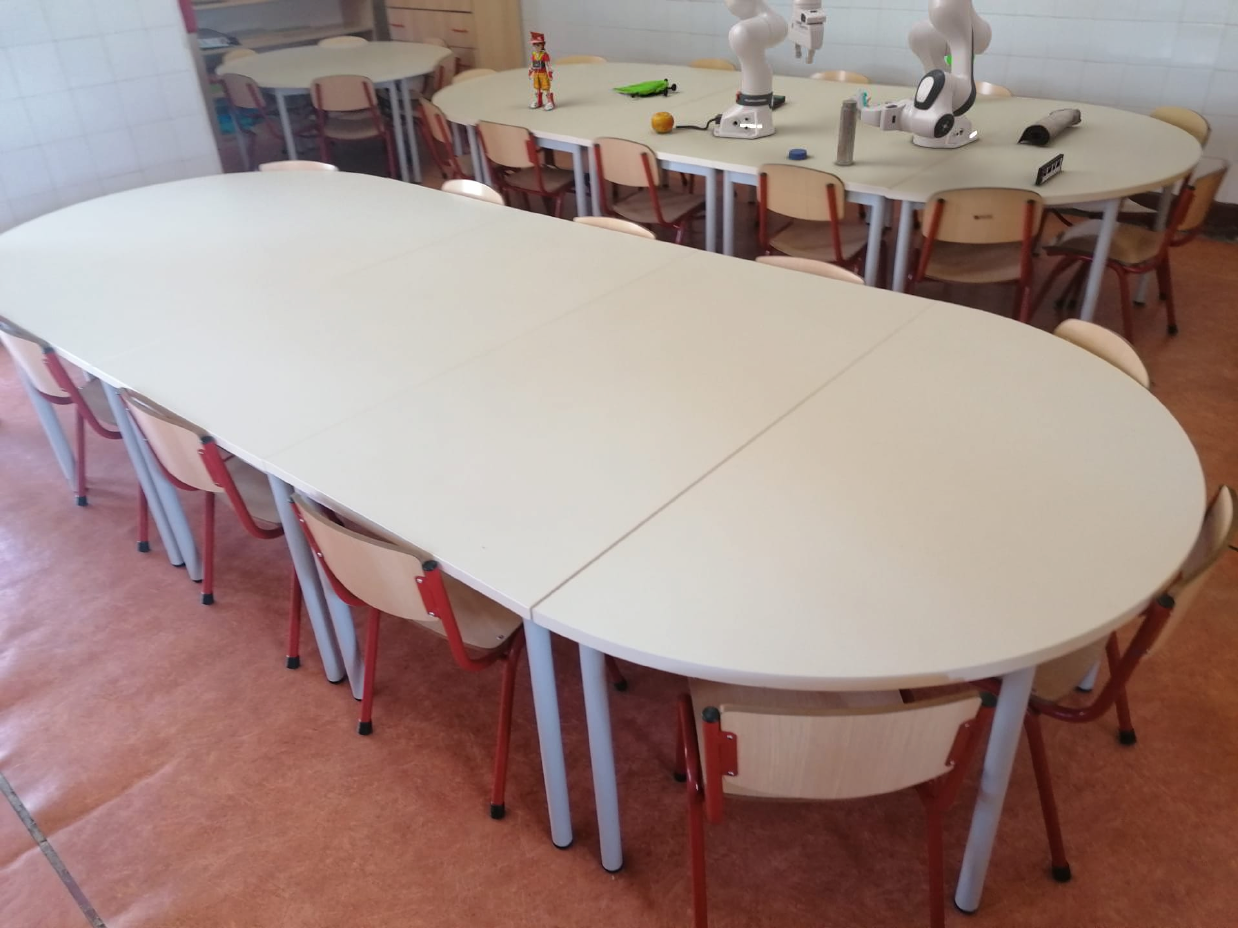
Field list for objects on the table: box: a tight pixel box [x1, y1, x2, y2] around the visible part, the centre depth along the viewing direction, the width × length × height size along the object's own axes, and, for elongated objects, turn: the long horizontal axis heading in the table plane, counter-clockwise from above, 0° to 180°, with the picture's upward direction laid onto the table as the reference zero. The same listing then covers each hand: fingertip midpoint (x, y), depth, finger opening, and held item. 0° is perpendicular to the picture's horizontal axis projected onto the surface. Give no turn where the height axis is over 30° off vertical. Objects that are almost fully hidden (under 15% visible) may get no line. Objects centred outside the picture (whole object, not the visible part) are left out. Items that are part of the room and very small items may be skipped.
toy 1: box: [527, 31, 556, 111], centre depth 374 cm, size 12×9×30 cm
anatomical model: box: [849, 88, 881, 113], centre depth 343 cm, size 15×10×10 cm
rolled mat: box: [1017, 107, 1082, 147], centre depth 310 cm, size 30×9×10 cm
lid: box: [788, 148, 808, 161], centre depth 305 cm, size 6×6×2 cm
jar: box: [836, 99, 859, 167], centre depth 292 cm, size 5×5×20 cm
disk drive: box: [772, 94, 786, 110], centre depth 364 cm, size 10×3×15 cm
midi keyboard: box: [1035, 153, 1065, 186], centre depth 273 cm, size 18×1×5 cm, turn 138°
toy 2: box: [612, 78, 677, 99], centre depth 396 cm, size 28×5×30 cm
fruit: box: [650, 111, 675, 133], centre depth 339 cm, size 8×8×8 cm
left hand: (803, 60), depth 288 cm, fingers open, 8 cm apart
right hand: (875, 106), depth 278 cm, fingers open, 8 cm apart
